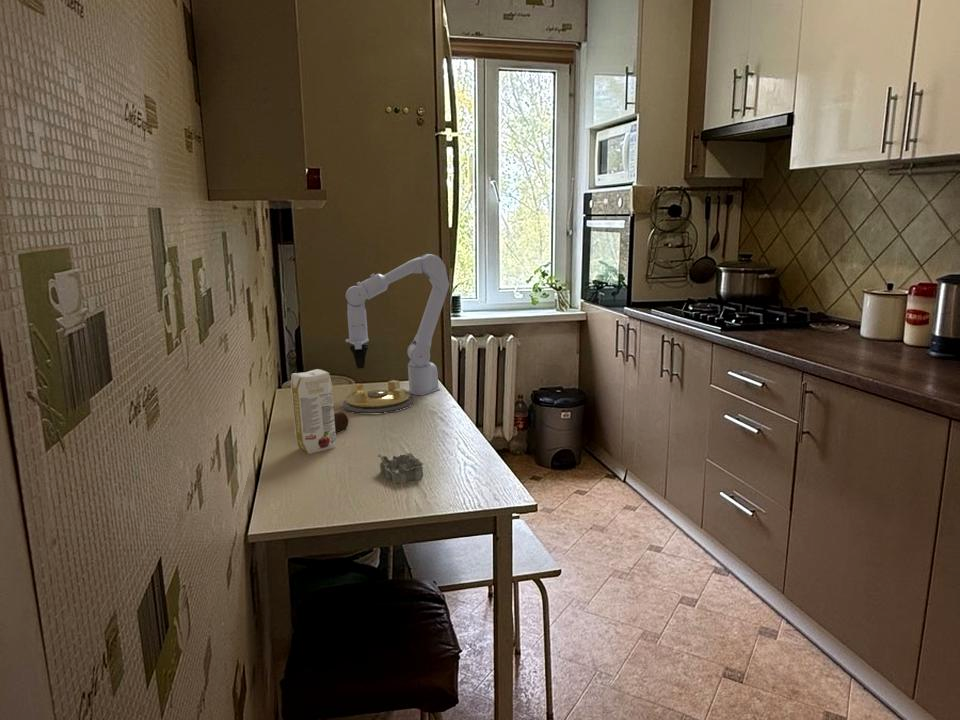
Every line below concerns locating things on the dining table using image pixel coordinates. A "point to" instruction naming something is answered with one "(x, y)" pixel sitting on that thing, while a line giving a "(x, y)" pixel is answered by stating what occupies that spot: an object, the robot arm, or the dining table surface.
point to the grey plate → (378, 410)
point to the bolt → (340, 421)
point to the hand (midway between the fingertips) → (360, 367)
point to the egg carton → (402, 468)
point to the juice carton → (313, 411)
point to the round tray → (377, 396)
